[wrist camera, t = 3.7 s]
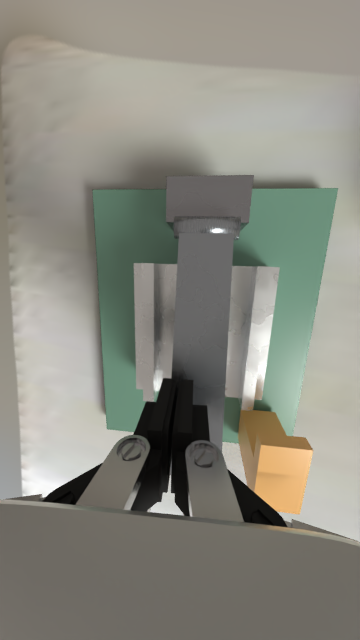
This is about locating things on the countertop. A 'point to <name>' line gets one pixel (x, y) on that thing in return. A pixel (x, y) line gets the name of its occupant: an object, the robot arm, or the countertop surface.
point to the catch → (273, 460)
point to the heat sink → (245, 301)
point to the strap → (204, 311)
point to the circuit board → (249, 250)
